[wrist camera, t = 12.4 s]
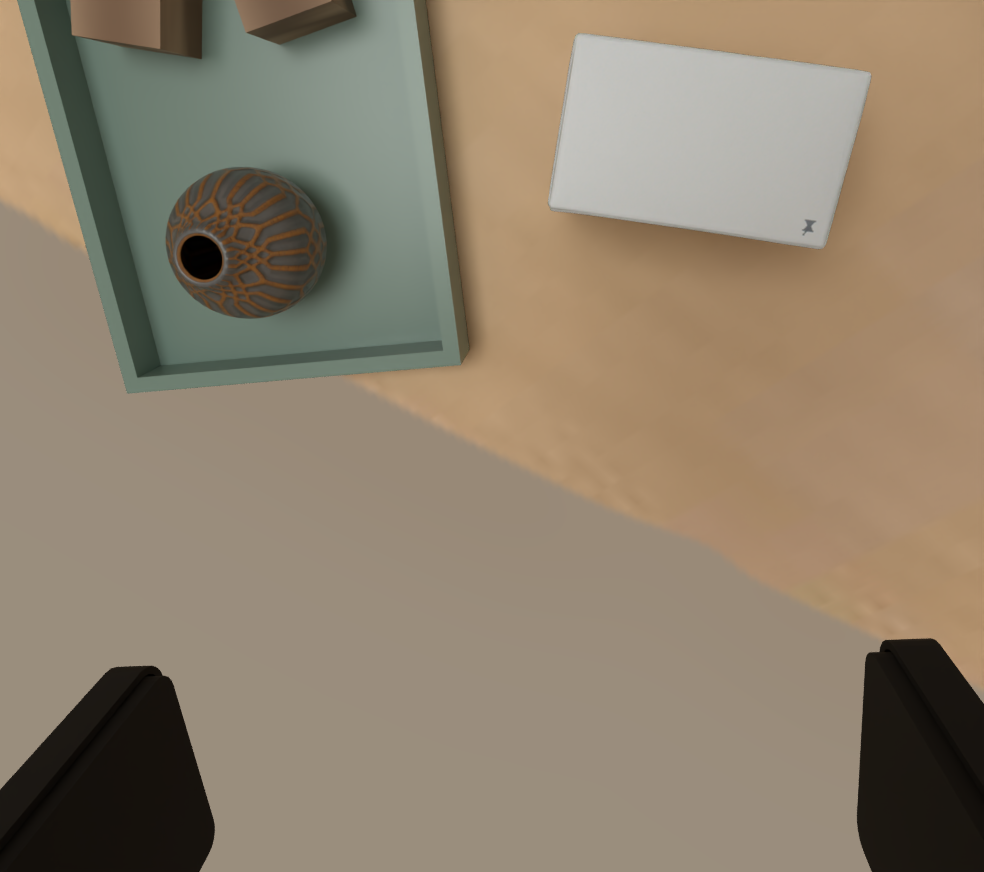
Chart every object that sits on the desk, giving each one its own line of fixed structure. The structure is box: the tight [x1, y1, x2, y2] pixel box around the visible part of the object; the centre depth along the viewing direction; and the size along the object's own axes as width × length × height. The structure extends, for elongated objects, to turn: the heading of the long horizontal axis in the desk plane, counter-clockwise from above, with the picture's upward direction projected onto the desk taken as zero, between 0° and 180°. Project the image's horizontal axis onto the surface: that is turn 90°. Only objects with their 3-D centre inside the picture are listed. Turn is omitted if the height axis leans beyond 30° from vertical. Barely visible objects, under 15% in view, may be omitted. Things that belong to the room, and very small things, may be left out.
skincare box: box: [548, 33, 871, 249], centre depth 33 cm, size 10×6×10 cm, turn 82°
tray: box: [17, 0, 469, 393], centre depth 38 cm, size 18×22×3 cm
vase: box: [165, 167, 327, 319], centre depth 36 cm, size 7×7×9 cm
